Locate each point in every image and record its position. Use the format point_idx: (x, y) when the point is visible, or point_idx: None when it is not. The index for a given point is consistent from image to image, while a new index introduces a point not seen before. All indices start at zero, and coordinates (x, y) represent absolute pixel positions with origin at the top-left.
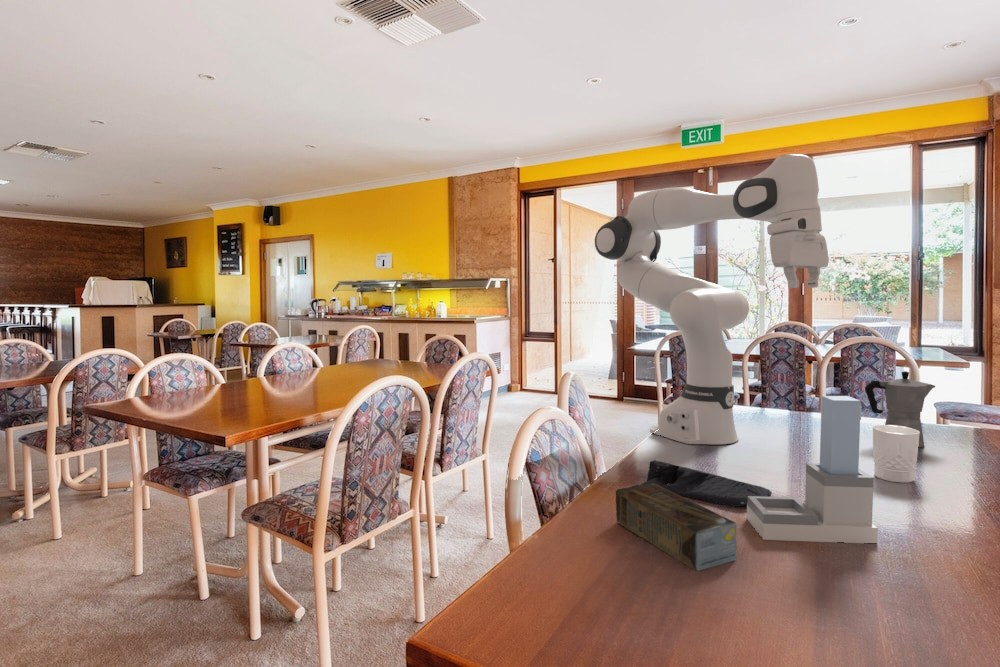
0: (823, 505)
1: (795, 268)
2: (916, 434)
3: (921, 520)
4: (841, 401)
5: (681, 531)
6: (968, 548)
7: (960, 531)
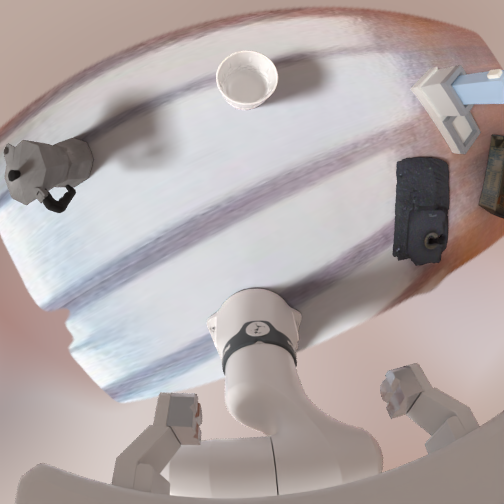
0: None
1: (457, 427)
2: (253, 51)
3: (363, 45)
4: None
5: None
6: (389, 20)
7: (362, 23)
